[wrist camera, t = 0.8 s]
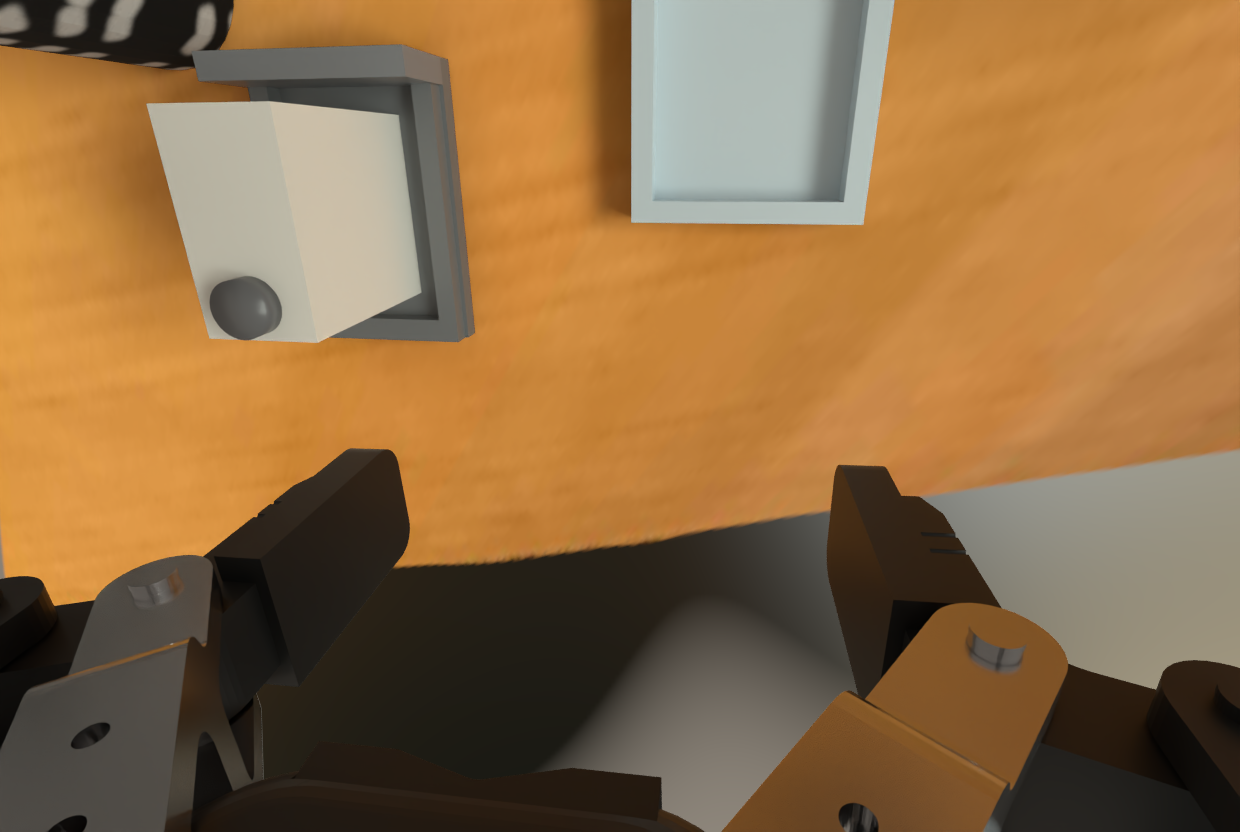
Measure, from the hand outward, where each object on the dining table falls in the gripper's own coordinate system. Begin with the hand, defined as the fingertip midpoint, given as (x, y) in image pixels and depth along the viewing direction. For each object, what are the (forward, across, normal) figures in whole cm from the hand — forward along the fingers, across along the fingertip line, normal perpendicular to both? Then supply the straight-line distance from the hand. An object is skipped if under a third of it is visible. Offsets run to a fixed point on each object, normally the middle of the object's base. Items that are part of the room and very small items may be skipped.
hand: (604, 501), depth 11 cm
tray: (+24, -3, -10) cm, 27 cm away
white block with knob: (+23, +17, -4) cm, 29 cm away
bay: (+24, +17, -4) cm, 30 cm away
